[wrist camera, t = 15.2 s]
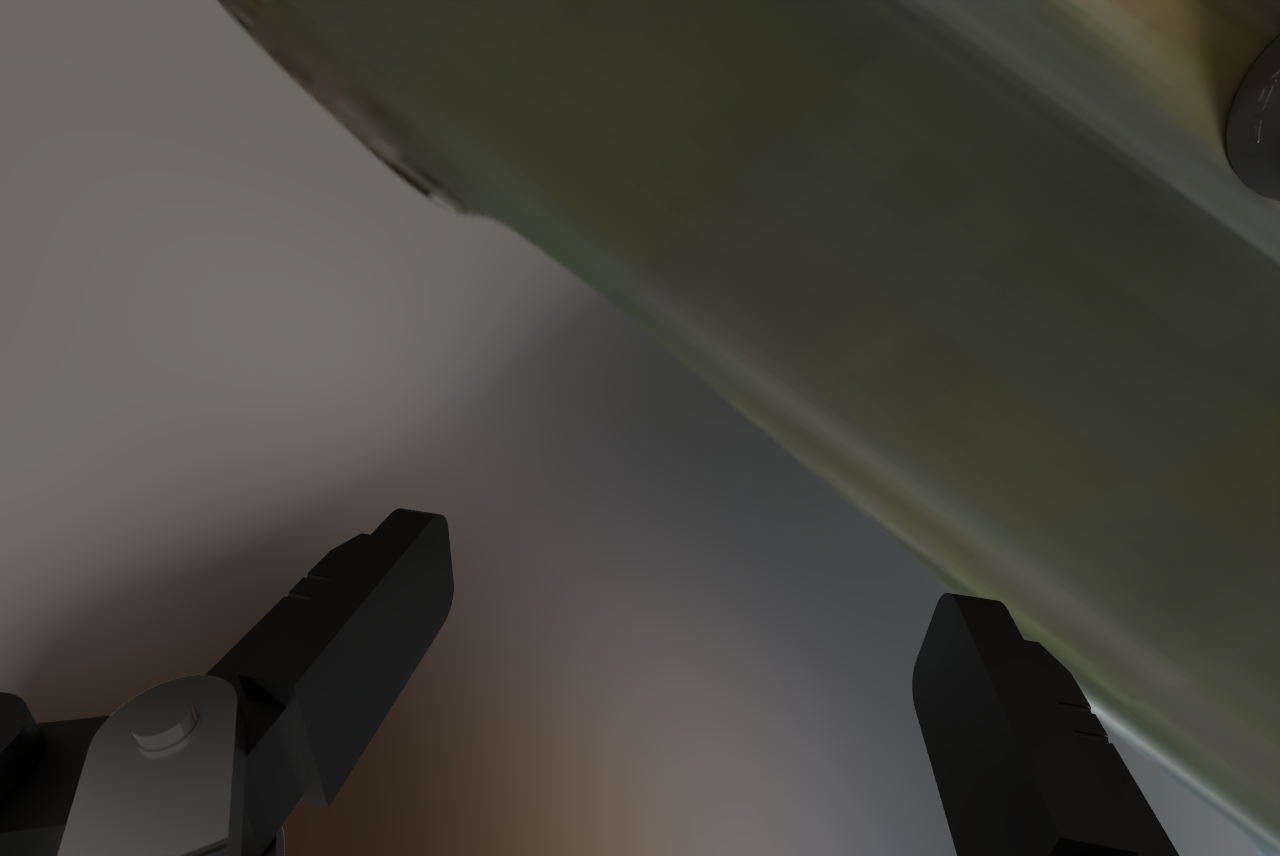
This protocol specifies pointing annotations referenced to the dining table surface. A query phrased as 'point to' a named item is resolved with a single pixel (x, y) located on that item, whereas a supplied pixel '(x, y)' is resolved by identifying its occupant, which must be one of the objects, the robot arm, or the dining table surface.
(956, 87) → the dining table surface
